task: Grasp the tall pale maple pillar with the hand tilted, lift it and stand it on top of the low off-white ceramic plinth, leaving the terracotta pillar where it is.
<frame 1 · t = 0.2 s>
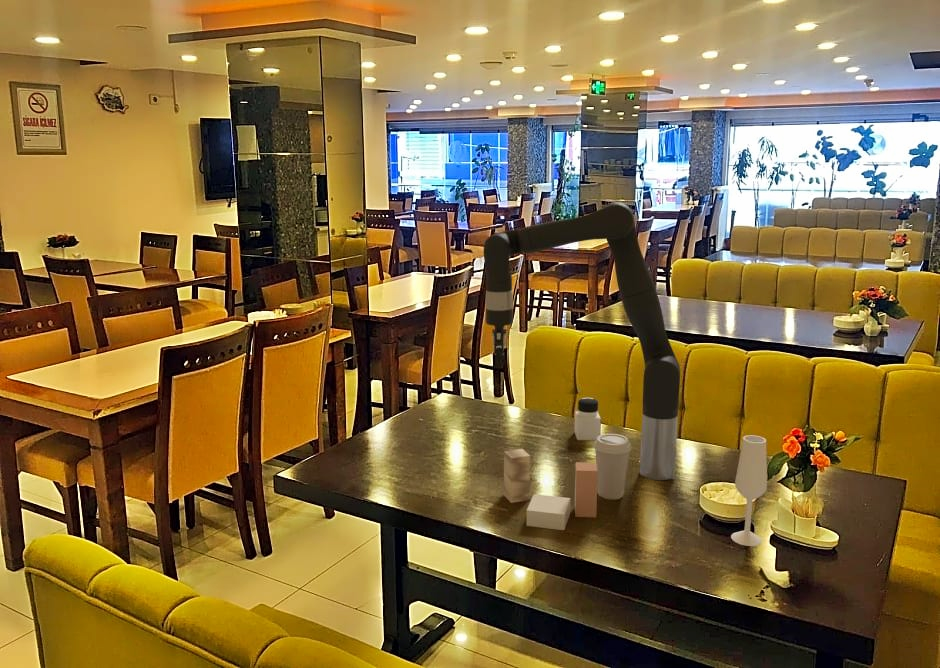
hand: (499, 363, 213), 29 cm above the table, tool pointing down, fingers open, 8 cm apart
coffee cup: (610, 494, 197), on the table
plinth: (548, 519, 184), on the table
champagne flute: (746, 539, 174), on the table
maple pillar: (516, 497, 196), on the table
terracotta pillar: (585, 512, 187), on the table
medicine bottle: (587, 437, 238), on the table
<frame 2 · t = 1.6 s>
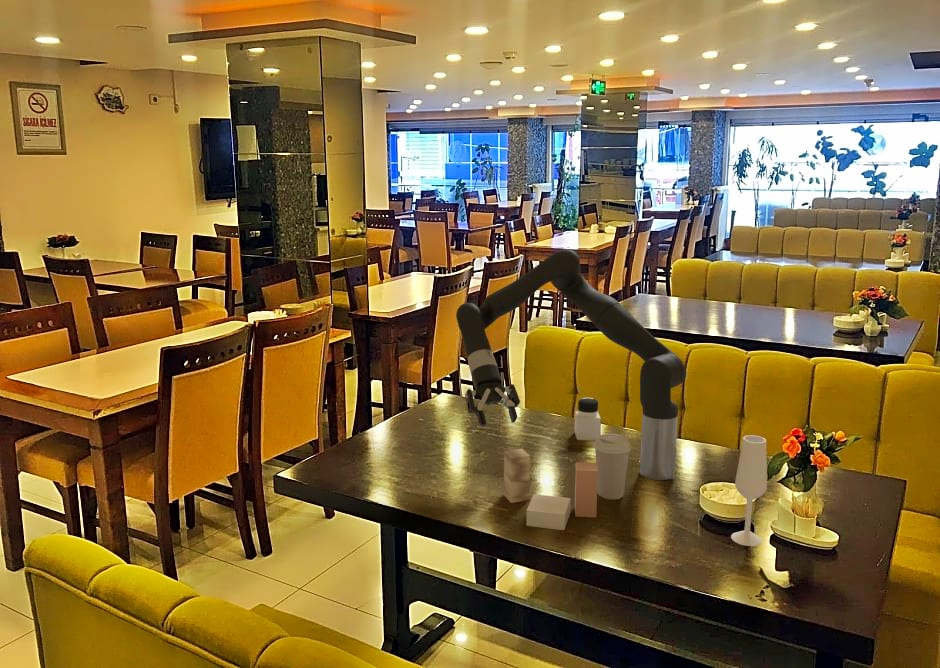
hand: (499, 423, 202), 16 cm above the table, tool tilted 45°, fingers open, 8 cm apart
nothing on the table moved.
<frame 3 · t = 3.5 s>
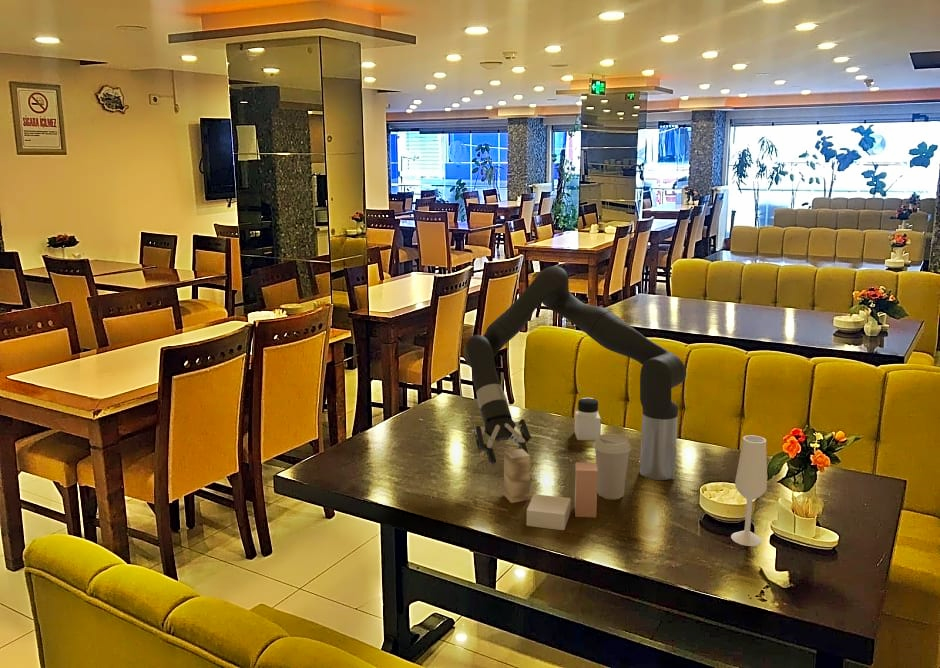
hand: (509, 460, 198), 8 cm above the table, tool tilted 45°, fingers open, 8 cm apart
nothing on the table moved.
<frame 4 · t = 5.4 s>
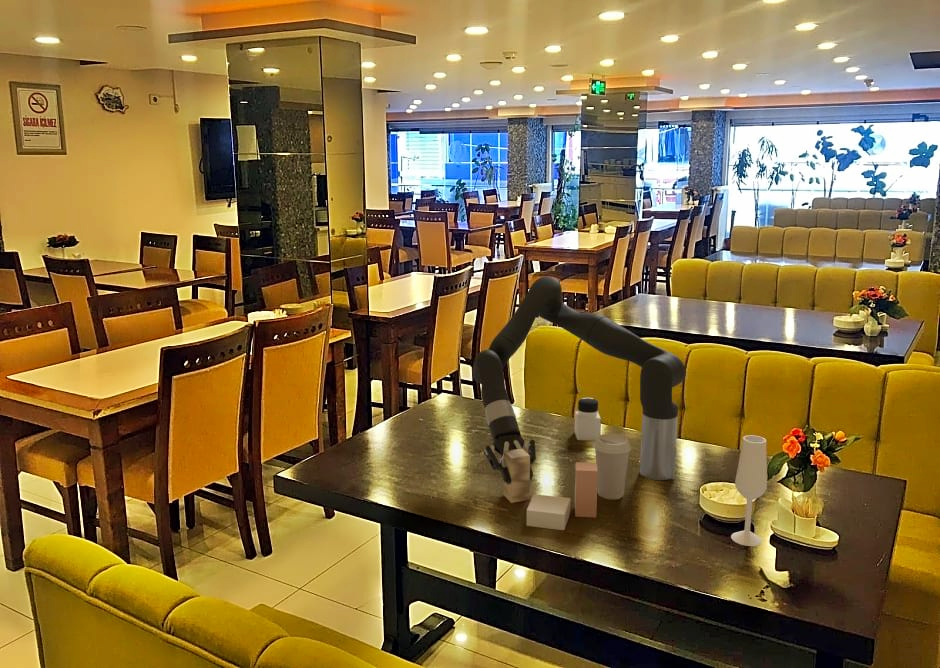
hand: (519, 481, 193), 5 cm above the table, tool tilted 45°, fingers closed on maple pillar, 5 cm apart
maple pillar: (516, 497, 196), on the table, touching gripper
everything else where it was.
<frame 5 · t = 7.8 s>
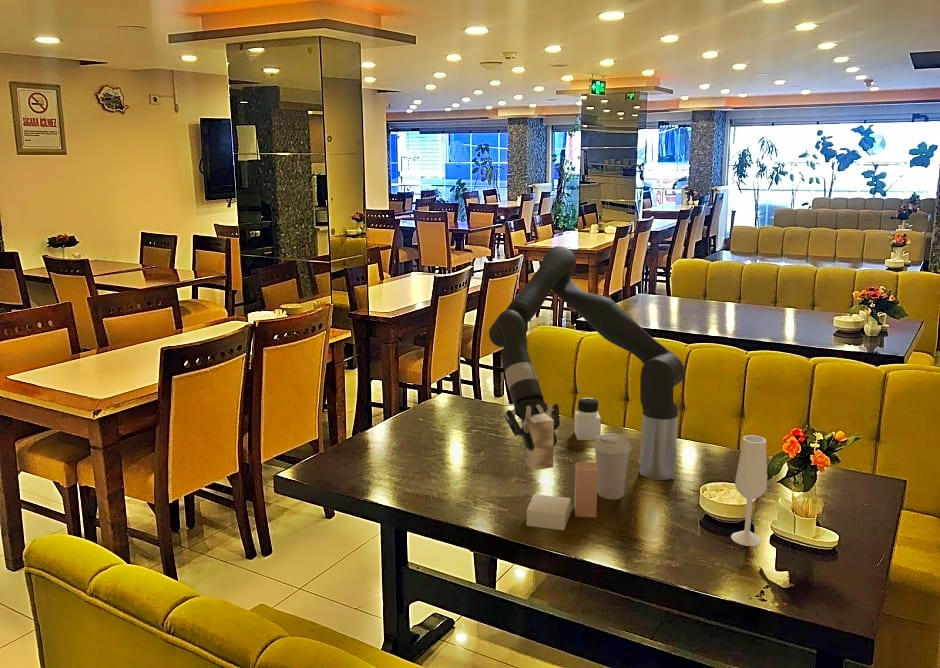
hand: (542, 447, 181), 18 cm above the table, tool tilted 45°, fingers closed on maple pillar, 5 cm apart
maple pillar: (539, 464, 184), point 13 cm above the table, touching gripper
everything else where it was.
when the fingers open (10 cm above the table, at t = 10.4 s): maple pillar stays where it is, resting on plinth.
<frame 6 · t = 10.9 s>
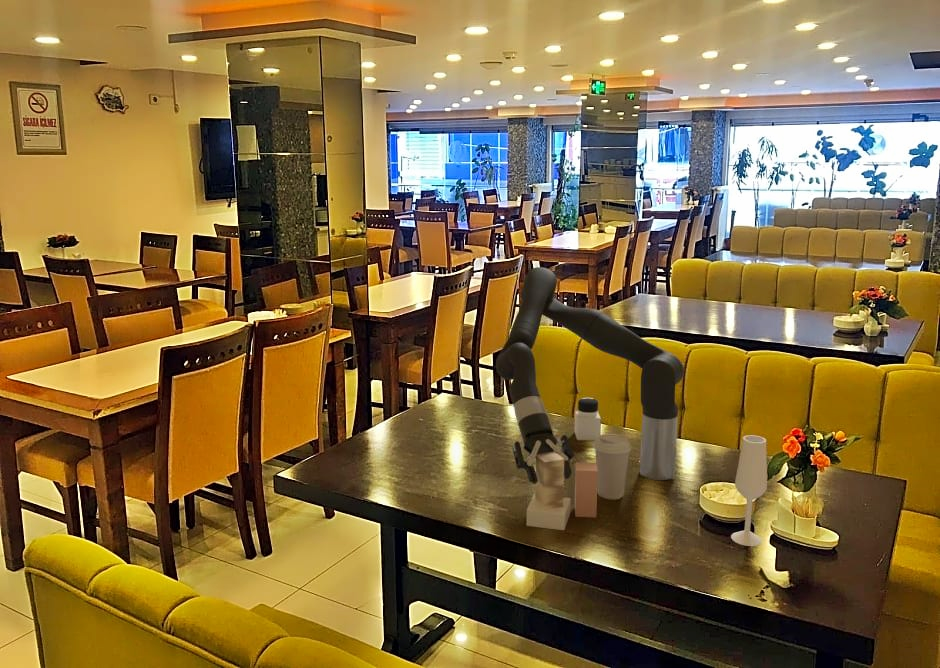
hand: (551, 480, 180), 11 cm above the table, tool tilted 45°, fingers open, 8 cm apart
maple pillar: (549, 503, 183), point 4 cm above the table, touching plinth
everything else where it was.
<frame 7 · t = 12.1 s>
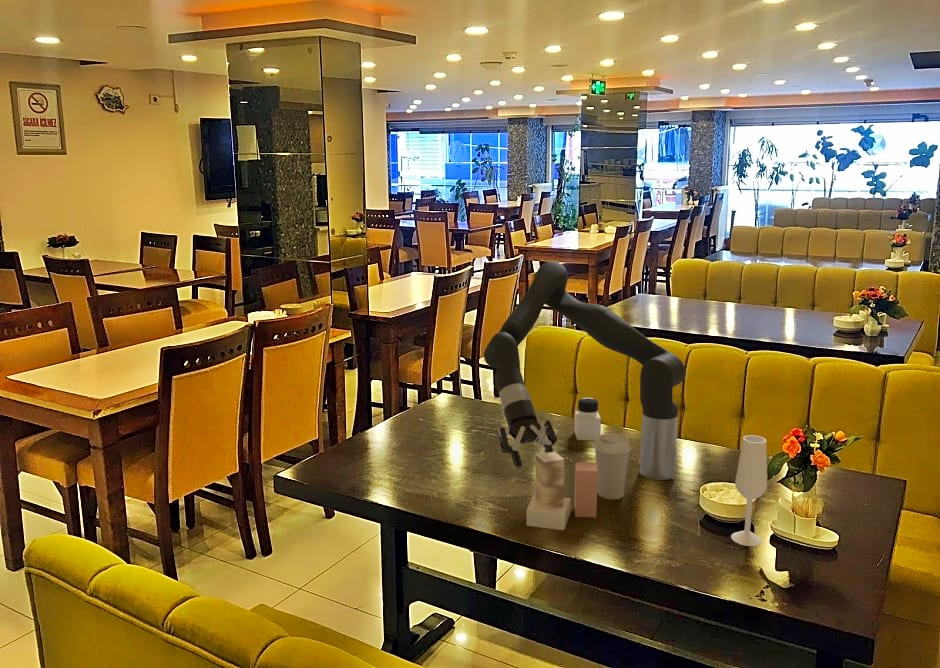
hand: (535, 464, 187), 12 cm above the table, tool tilted 45°, fingers open, 8 cm apart
nothing on the table moved.
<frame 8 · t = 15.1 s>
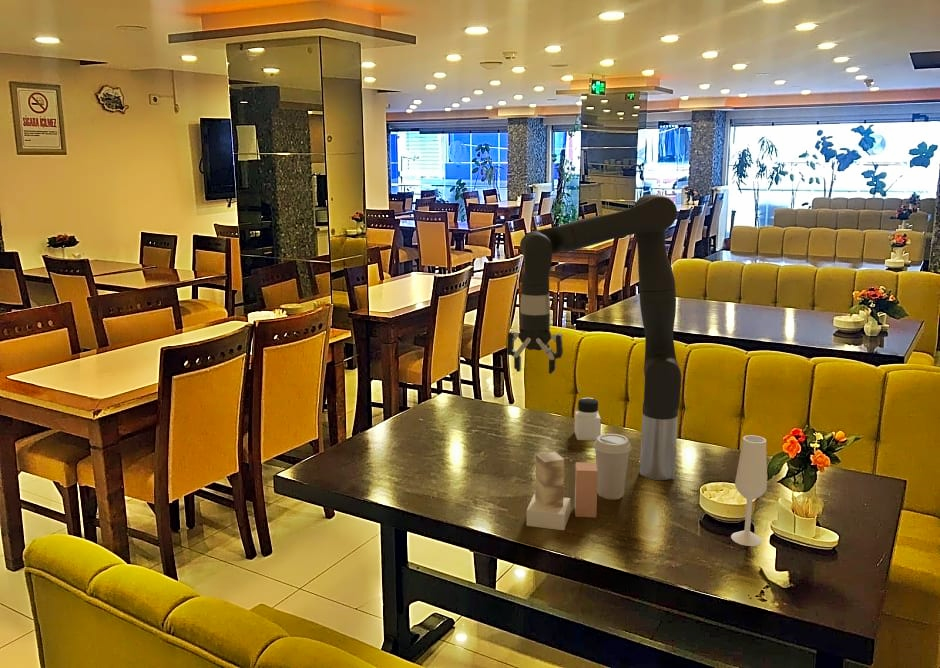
hand: (534, 371, 200), 30 cm above the table, tool pointing down, fingers open, 8 cm apart
nothing on the table moved.
at the end: maple pillar 0.1 cm off-centre on the plinth, point 4.0 cm above the plinth's base; maple pillar tilted 0°; the gripper is holding nothing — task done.
